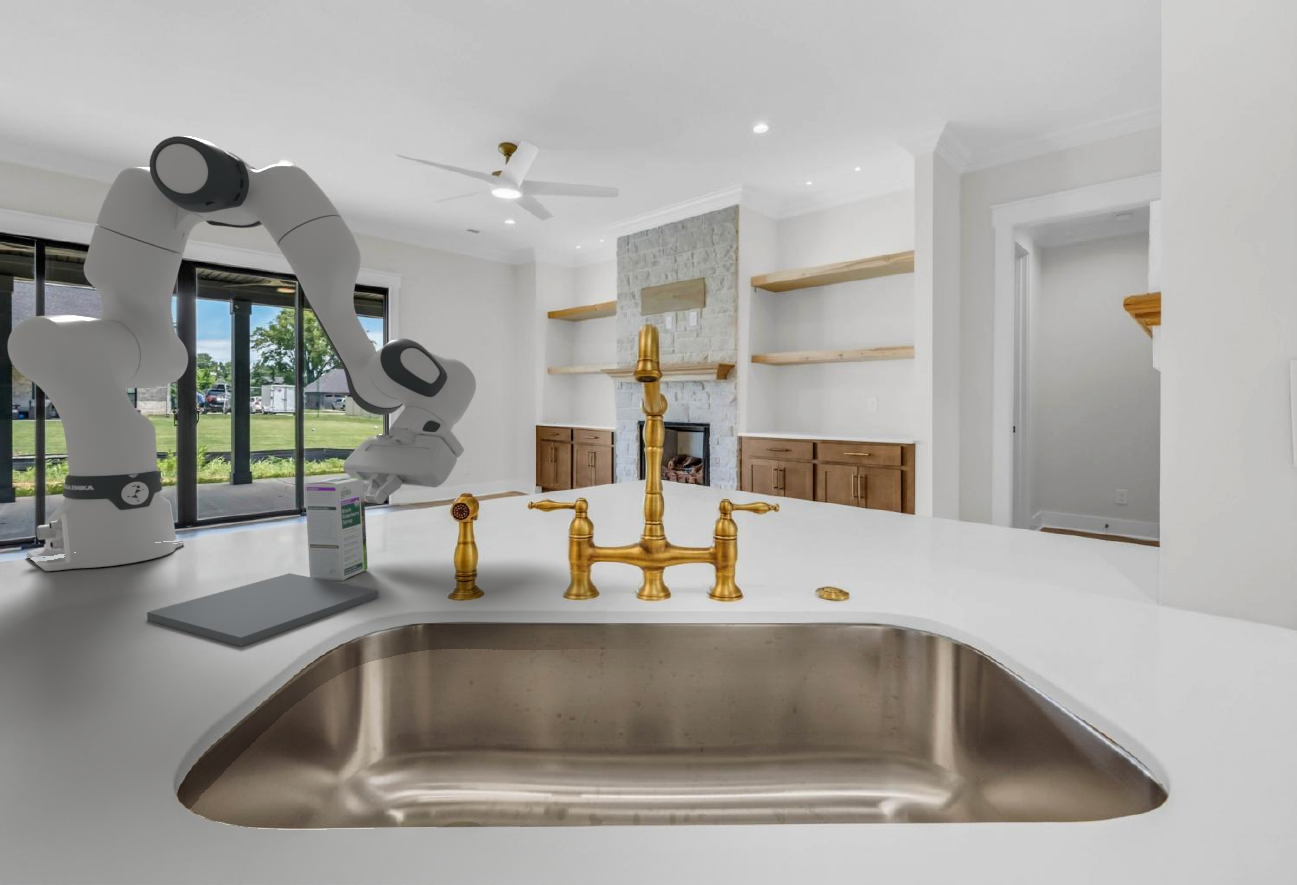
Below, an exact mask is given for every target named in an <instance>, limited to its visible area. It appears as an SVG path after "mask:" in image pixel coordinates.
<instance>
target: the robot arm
mask: <svg viewBox="0 0 1297 885" xmlns="http://www.w3.org/2000/svg"><path fill="white" fill-rule="evenodd" d="M96 219H97V220H96V222H95V223H96V224H95V227H94V230H93V233H92V236H91V240H90V243H89V247H88V249H87V250H88V251H87V253H86V257H85V261H84V264H83V273H84V276H85V278H86V280H87V281H88V282H89V284H91V286H93V288H95V290H97V291H98V292H99V294H100V295H99V296H100V298H101V303H102V314H101V317H100V318H97V317H89V316H81V315H75V314H51V315H50V314H49V315H39V316H31V317H28V318H25V319H23V320H20V322H18V323H16V325H15V326H14V328H13V329H12V331H11V332H10V334H9V337H8V339H7V352H8V353H7V354H8V357H9V360H10V362H11V363H12V365H13V367H14V368H15V369H16V371H17V372H18V373H20V375H22V376H23V377H25V378H26V379H28V380H30V381H31V382H33V384H35V385H36V386H37V387H39V388H40V390H42V392H43V393H44V394H45V395H46V396H47V398H48V399H49V401H50V402H51V404H52V406H54V408H55V410H56V413H57V414H58V416H59V419H60V422H61V425H62V427H63V432H64V437H65V447H66V456H67V466H68V474H67V475H66V476H65V477H64V482H63V487H62V488H63V493H62V497H64V498H63V501H62V503H60V504H59V506H58V507H57V508H56V509H55V510H54V512H52V514H51V515H50V516H49V517H48V518H47V519H46V520H45V524H40V525H37V526H36V536H37V539H38V540H39V541H43V540H45V541H44V542H45V546H42V547H38V548H35V549H31V550H28V551H26V558H27V559H28V558H32V557H39V556H54V555H58V554H65V555H64V556H65V557H64V558H58V559H54V560H47V561H38V562H35V563H34V564H35V565H36V566H38V567H39V568H41V569H42V570H43V571H45V572H51V571H62V570H72V569H87V568H88V569H89V568H102V567H104V568H105V567H113V566H119V565H127V564H133V563H138V562H142V561H143V562H144V561H147V560H148V561H149V560H153V559H156V558H160V557H163V556H167V555H169V554H171V553H172V552H174V551H175V550H176V549H178V548H181V547H182V545H183V546H185V542H184V543H179V542H183V541H184V540H183V541H178V542H163V541H174V540H179V539H180V538H177V535H176V529H175V528H176V527H175V521H174V516H173V510H172V509H173V508H172V503H171V501H170V500H169V499H167V498H165V497H164V496H163V495H162V493H161V491H162V490H163V477H162V471H161V470H160V469H158V468H159V467H158V455H157V453H158V452H157V437H156V436H157V435H156V428H155V427H156V426H155V425H154V423H153V422H152V421H151V419H149V418H148V417H146V416H145V415H143V414H141V413H140V412H139V411H138V410H137V409H136V408H135V406H134V404H133V403H132V401H131V398H130V396H129V395H128V392H127V389H149V388H155V387H160V386H165V385H168V384H171V383H175V382H176V381H178V380H179V379H180V378H181V377H183V375H184V374H185V372H186V370H187V367H188V364H189V354H188V350H187V348H186V346H185V344H184V343H183V341H182V340H181V339H180V338H179V336H178V334H177V332H176V329H175V326H174V321H173V313H172V312H173V310H172V303H173V294H174V289H175V287H176V282H177V278H178V274H179V270H180V266H181V264H182V259H183V256H184V253H185V250H186V246H187V242H188V239H189V236H190V233H191V232H192V230H193V229H194V227H195V226H196V225H199V223H202V222H206V223H207V224H208V225H211V226H217V227H228V228H236V229H238V228H239V229H249V228H256V227H260V226H261V225H263V226H264V228H265V229H266V230H267V232H268V234H270V236H271V238H272V239H273V241H274V242H275V244H276V245H277V247H278V248H279V249H280V252H281V253H282V254H283V257H284V258H285V259H286V261H287V262H288V264H289V266H290V268H291V270H292V271H293V273H294V275H295V277H296V278H297V280H298V282H299V284H300V285H301V288H302V291H303V293H304V295H305V298H306V301H307V302H308V304H309V307H310V309H311V312H312V314H313V316H314V318H315V319H316V321H317V324H318V325H319V327H320V329H321V330H322V332H323V334H324V336H325V337H326V339H327V341H328V343H329V344H330V346H331V348H332V350H333V352H334V353H335V355H336V356H337V359H338V361H339V362H340V364H341V367H342V368H343V371H344V374H345V378H346V385H347V389H348V392H349V395H350V397H351V398H352V401H354V403H355V404H356V405H357V406H358V407H359V408H360V409H362V410H364V412H365V411H366V412H368V413H370V414H373V415H379V416H384V415H385V416H386V415H390V414H393V413H395V412H397V411H398V410H399V409H400V408H401V407H402V406H404V408H403V410H402V411H401V412H400V414H399V416H398V417H397V418H396V419H395V421H394V422H393V423H392V424H391V426H390V428H389V430H388V434H384V433H380V434H377V435H376V436H371V437H368V438H366V439H365V440H363V441H362V442H361V443H360V444H359V445H358V446H357V447H356V448H355V449H354V450H353V452H351V453H350V454H349V456H348V457H347V458H346V460H344V462H343V466H342V469H343V471H345V473H346V474H347V475H348V477H350V478H360V479H363V482H368V486H367V490H366V491H364V501H366V503H371V504H380V505H382V504H384V502H385V501H386V500H387V498H388V497H390V496H391V495H392V494H394V493H395V492H397V491H398V490H399V489H401V487H402V485H404V486H416V487H417V486H418V487H427V488H439V486H441V485H442V484H444V483H445V482H446V481H447V479H448V478H449V476H450V474H451V473H452V471H453V470H454V468H455V466H456V464H457V461H458V458H460V457H461V456H462V455H463V453H464V452H465V448H464V446H462V444H461V442H460V441H459V440H458V438H457V437H456V435H455V434H454V433H453V431H452V429H453V428H454V426H455V425H456V424H457V423H459V422H460V421H461V419H462V417H463V416H464V415H465V413H466V411H467V410H468V408H469V406H470V404H471V402H472V400H473V398H474V396H475V394H476V388H477V382H476V381H477V380H476V377H475V375H474V372H472V370H471V369H470V368H469V367H468V366H467V364H465V363H464V362H462V361H461V360H458V359H455V358H446V357H441V356H439V355H437V354H434V353H432V352H430V351H428V350H427V349H426V348H425V347H424V346H423V345H422V344H420V343H418V342H417V341H414V340H411V339H408V338H396V339H392V340H391V341H388V342H387V343H385V344H384V346H382V347H381V348H380V349H379V350H377V351H376V349H375V347H374V346H373V343H372V342H371V340H370V338H369V336H368V335H367V332H366V331H365V329H364V327H363V325H362V324H361V322H360V319H359V318H358V315H357V313H356V309H355V304H354V295H355V287H356V283H357V279H358V274H359V271H360V266H361V260H362V259H361V252H360V249H359V247H358V246H359V245H357V242H356V239H355V237H354V235H353V233H352V232H351V230H350V227H349V226H348V225H347V224H346V222H345V220H344V219H343V217H342V215H341V214H340V213H339V210H337V208H336V206H335V205H334V204H333V202H332V201H331V200H330V198H329V197H328V196H327V195H326V193H325V192H324V191H323V189H321V187H320V186H319V185H318V184H317V182H315V181H314V179H313V178H312V177H311V176H310V175H309V174H308V173H307V171H306V170H303V169H302V168H301V167H299V166H297V165H293V164H291V163H277V164H271V165H269V166H267V167H265V168H262V169H259V170H258V169H256V168H255V167H254V166H251V165H250V164H249V163H248V162H246V161H245V160H244V159H242V158H241V157H239V156H238V155H236V154H234V153H232V152H230V151H228V150H224V149H222V148H221V147H219V146H217V145H216V144H214V143H211V142H210V141H207V140H204V139H201V138H197V137H192V136H186V135H185V136H184V135H176V136H171V137H168V138H165V139H164V140H162V141H160V142H159V143H158V144H157V145H156V146H155V147H154V148H153V150H152V152H151V155H150V159H149V167H145V166H130V167H127V168H125V169H123V170H122V171H120V172H119V174H118V175H117V177H116V178H115V180H114V181H113V182H112V185H111V186H110V189H109V190H108V192H107V195H106V196H105V198H104V200H103V203H102V205H101V208H100V211H99V212H98V216H97V218H96ZM155 542H161V543H155ZM173 543H178V544H173ZM74 552H76V553H74ZM43 558H45V557H43Z"/></svg>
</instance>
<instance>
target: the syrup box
mask: <svg viewBox="0 0 1297 885" xmlns="http://www.w3.org/2000/svg"><path fill="white" fill-rule="evenodd" d="M304 493H305V494H304V495H305V508H306V509H305V510H306V511H305V512H306V529H307V546H308V549H307V550H308V563H309V564H308V565H309V577H312V578H317V579H322V580H328V581H336V582H337V581H339V582H341V581H342V582H343V581H345V580H346V579H348V578H351V577H354V576H355V575H358V574H361V573H363V572H366V571H367V570H368V568H369V567H368V553H367V552H368V551H367V550H368V548H367V528H366V526H367V525H366V510H365V509H366V508H365V507H366V506H365V499H364V494H365V485H364V481H363V479H360V478H351V477H350V476H348V477H346V476H345V477H344V476H343V477H332V478H328V479H324V480H318V481H313V482H306V483H305V484H304Z"/></svg>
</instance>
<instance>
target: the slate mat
mask: <svg viewBox="0 0 1297 885" xmlns="http://www.w3.org/2000/svg"><path fill="white" fill-rule="evenodd" d="M375 599H379V590H378V589H375V588H369V587H368V588H367V587H365V586H360V585H358V586H357V585H353V584H348V583H342V582H337V581H334V580H322V579H317V578H312V577H310V576H306V575H301V574H295V573H289V572H288V573H286V574H283V575H279V576H275V577H272V578H268V579H264V580H261V581H260V580H259V581H257V582H256V581H255V582H252V583H249V584H246V585H242V586H238V587H234V588H230V589H227V590H226V589H225V590H224V591H219V592H216V593H212V594H208V595H205V596H201V597H198V598H194V599H190V600H186V601H183V602H179V603H175V604H172V605H168V606H165V607H160V608H157V609H153V610H150V611H147V612H146V619H147V620H146V621H149V622H153V623H156V624H160V625H163V626H166V627H170V628H174V629H177V630H182V631H184V632H187V633H192V634H195V635H199V636H202V637H206V638H208V639H209V638H210V639H212V640H216V641H220V642H224V643H227V644H230V645H233V646H239V647H241V648H242V647H244V646H247V645H250V644H252V643H253V644H254V643H256V642H258V641H261V640H263V639H267V638H269V637H272V636H275V635H278V634H280V633H283V632H286V631H288V630H289V631H290V630H292V629H295V628H297V627H300V626H302V625H303V626H304V625H305V624H309V623H311V622H313V621H316V620H319V619H323V618H325V617H328V616H330V615H333V614H336V613H338V612H342V611H344V610H347V609H350V608H352V607H356V606H359V605H361V604H364V603H367V602H370V601H373V600H375Z"/></svg>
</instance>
